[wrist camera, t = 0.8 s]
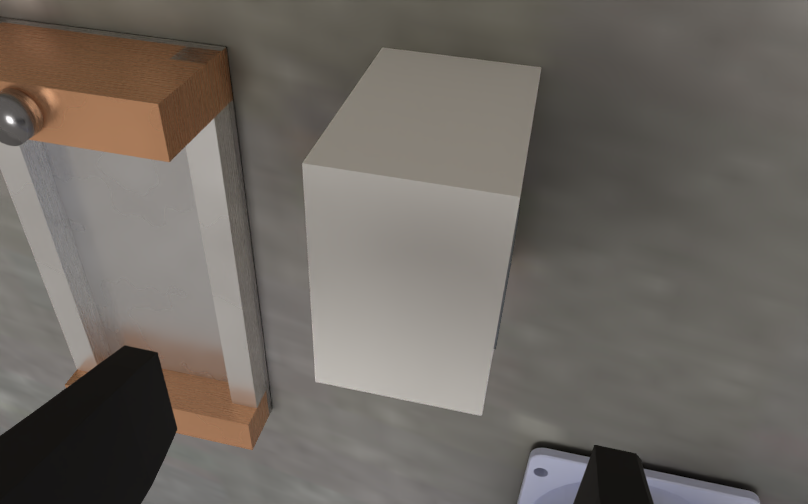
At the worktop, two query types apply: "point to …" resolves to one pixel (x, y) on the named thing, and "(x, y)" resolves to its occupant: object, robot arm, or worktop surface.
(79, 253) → the rail
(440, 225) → the block
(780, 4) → the worktop surface
